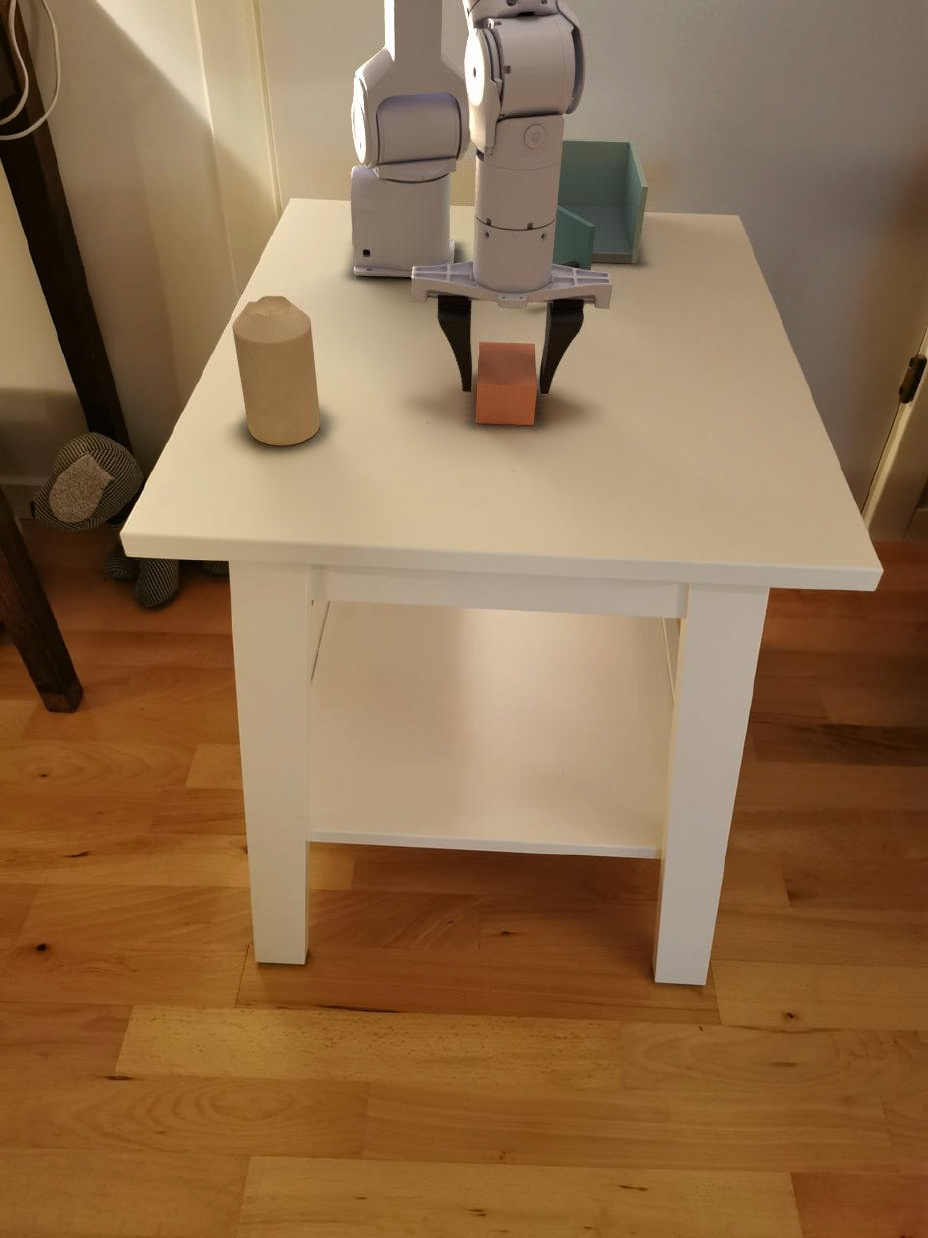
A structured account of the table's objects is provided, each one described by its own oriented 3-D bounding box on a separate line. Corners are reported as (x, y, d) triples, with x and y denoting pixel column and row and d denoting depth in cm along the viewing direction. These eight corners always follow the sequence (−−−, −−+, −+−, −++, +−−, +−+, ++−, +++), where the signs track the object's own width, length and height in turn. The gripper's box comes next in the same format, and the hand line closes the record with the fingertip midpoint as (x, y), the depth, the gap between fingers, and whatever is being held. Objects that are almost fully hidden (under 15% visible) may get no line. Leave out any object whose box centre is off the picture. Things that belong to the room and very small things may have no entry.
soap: (476, 423, 76) (477, 383, 73) (477, 380, 80) (478, 341, 78) (533, 425, 76) (536, 385, 73) (531, 381, 80) (534, 343, 78)
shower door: (475, 261, 94) (477, 193, 89) (521, 248, 96) (525, 182, 91) (541, 304, 87) (546, 234, 83) (588, 290, 90) (596, 220, 85)
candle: (307, 450, 73) (294, 327, 66) (237, 441, 73) (217, 317, 66) (329, 411, 76) (319, 290, 69) (263, 403, 77) (245, 282, 70)
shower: (507, 259, 97) (511, 182, 92) (507, 209, 106) (510, 136, 101) (636, 263, 97) (648, 186, 92) (625, 212, 106) (634, 139, 101)
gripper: (407, 234, 65) (411, 410, 74) (624, 241, 65) (600, 416, 74) (414, 193, 70) (416, 363, 79) (615, 200, 70) (594, 369, 79)
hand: (505, 386), depth 77 cm, fingers open, 5 cm apart
